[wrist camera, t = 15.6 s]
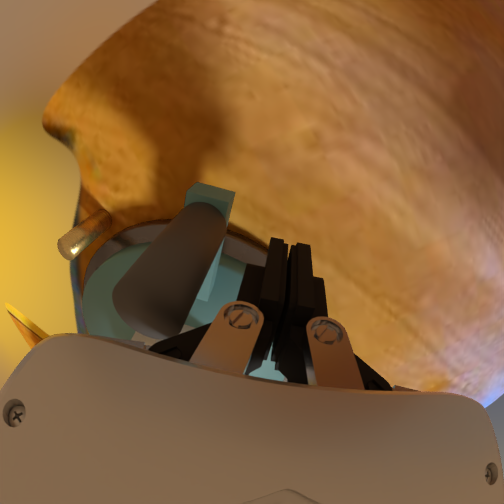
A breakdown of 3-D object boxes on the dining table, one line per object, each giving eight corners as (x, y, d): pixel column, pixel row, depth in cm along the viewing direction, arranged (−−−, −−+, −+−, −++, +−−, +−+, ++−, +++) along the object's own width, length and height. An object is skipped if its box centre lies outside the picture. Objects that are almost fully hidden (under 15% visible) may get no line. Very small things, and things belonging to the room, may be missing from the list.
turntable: (80, 149, 14) (-30, 200, 7) (389, 232, 15) (453, 349, 7) (106, 365, 27) (74, 425, 19) (269, 418, 27) (260, 487, 20)
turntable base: (111, 158, 16) (66, 178, 12) (380, 316, 19) (393, 362, 15) (78, 332, 27) (59, 359, 23) (243, 416, 30) (237, 447, 26)
